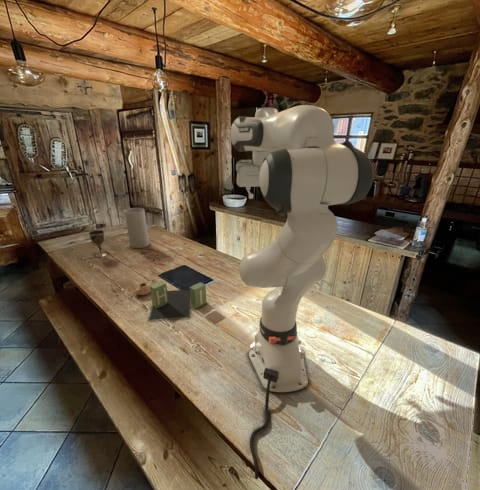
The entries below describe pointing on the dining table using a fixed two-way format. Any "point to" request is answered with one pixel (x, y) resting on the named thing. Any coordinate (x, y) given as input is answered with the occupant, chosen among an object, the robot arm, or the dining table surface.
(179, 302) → the word mat
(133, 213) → the cylinder vase
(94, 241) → the wine glass
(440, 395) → the dining table surface
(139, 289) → the pottery oil lamp
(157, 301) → the letter H
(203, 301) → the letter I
